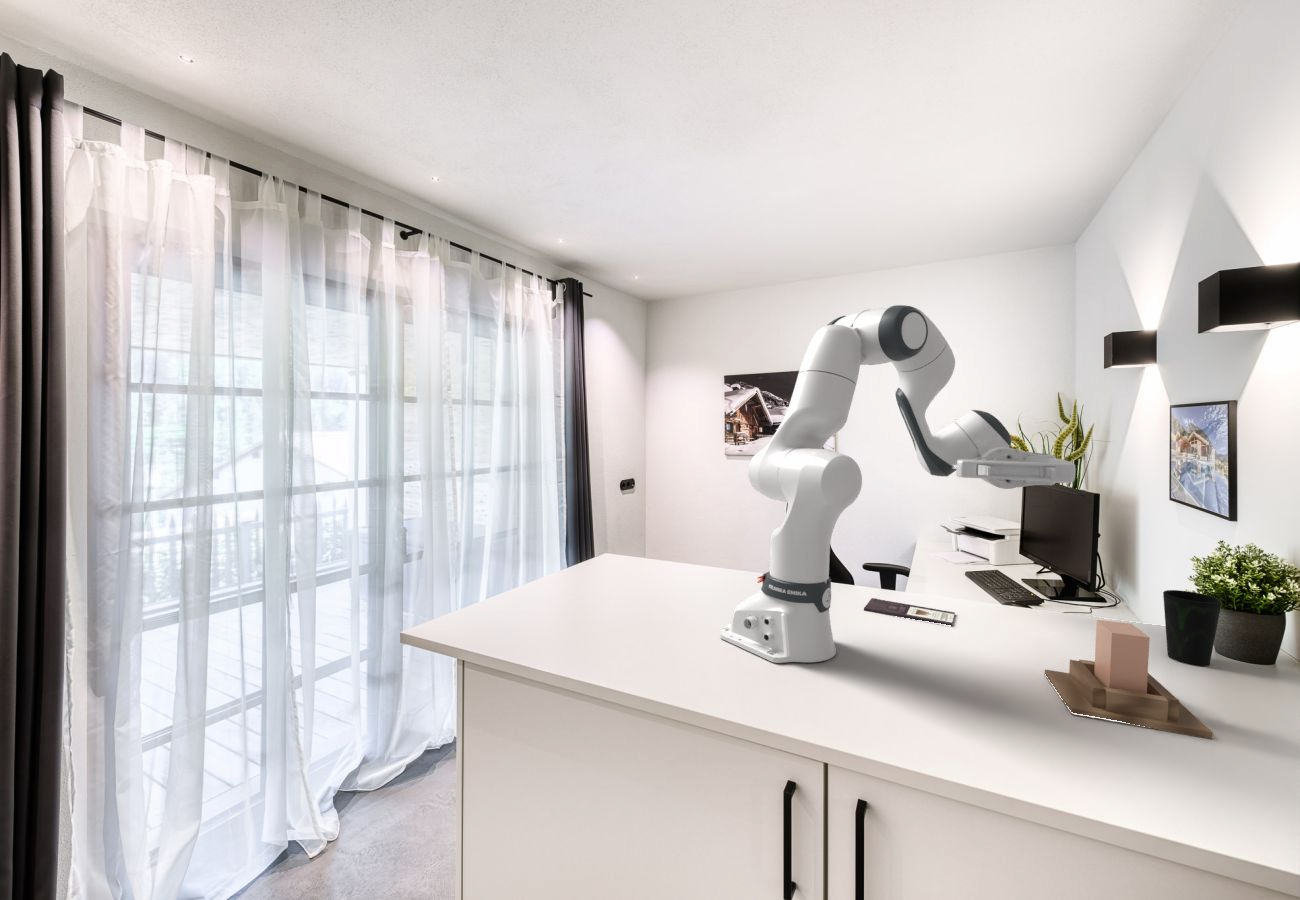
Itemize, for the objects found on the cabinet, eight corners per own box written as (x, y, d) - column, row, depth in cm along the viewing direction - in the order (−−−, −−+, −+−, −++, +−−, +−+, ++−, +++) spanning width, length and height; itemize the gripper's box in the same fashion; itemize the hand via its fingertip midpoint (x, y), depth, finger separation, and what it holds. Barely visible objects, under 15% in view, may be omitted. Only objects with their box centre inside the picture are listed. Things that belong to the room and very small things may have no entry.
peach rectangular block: (1108, 703, 83) (1111, 632, 82) (1093, 685, 88) (1096, 619, 88) (1145, 709, 81) (1149, 637, 80) (1128, 691, 87) (1131, 623, 86)
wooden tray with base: (1071, 714, 81) (1073, 689, 81) (1044, 675, 94) (1045, 652, 94) (1212, 739, 75) (1213, 711, 75) (1162, 692, 88) (1163, 668, 88)
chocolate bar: (871, 598, 134) (954, 612, 124) (871, 601, 134) (954, 616, 124) (863, 608, 126) (951, 624, 117) (863, 612, 126) (951, 628, 117)
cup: (1201, 654, 103) (1204, 592, 102) (1228, 671, 96) (1232, 605, 95) (1151, 648, 106) (1154, 588, 105) (1174, 665, 98) (1177, 600, 98)
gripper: (951, 451, 120) (959, 454, 108) (1062, 454, 112) (1086, 458, 100) (950, 480, 121) (958, 486, 108) (1061, 485, 113) (1084, 492, 100)
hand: (1020, 472), depth 104 cm, fingers open, 8 cm apart
